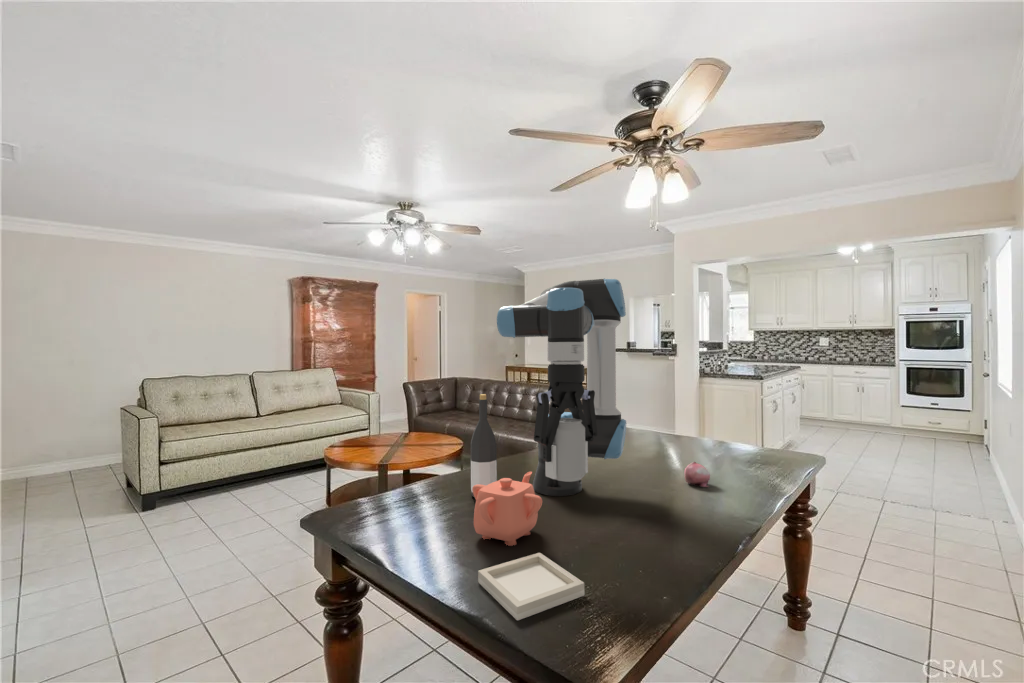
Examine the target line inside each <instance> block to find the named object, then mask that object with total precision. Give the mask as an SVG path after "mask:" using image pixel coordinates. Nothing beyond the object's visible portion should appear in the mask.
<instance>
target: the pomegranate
mask: <svg viewBox="0 0 1024 683" xmlns="http://www.w3.org/2000/svg"><path fill="white" fill-rule="evenodd" d="M684 479H685V482H686V483H687V484H688V485H692V486H695V487H699V488H710V485H708V483H709V481H710V479H711V473H710V471H709V469H707V467H705V465H702V464H700V463H697V462H695V461H693V462H691V463H689V464H687V466H686V467H685V468H684Z"/></svg>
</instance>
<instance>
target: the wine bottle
mask: <svg viewBox="0 0 1024 683" xmlns="http://www.w3.org/2000/svg"><path fill="white" fill-rule="evenodd" d="M478 403H479V404H478V405H479V406H478V410H479V411H478V416H479V418H478V419H479V420H478V421H477V424H476V425H475V428H474V430H473V433H472V435H471V440H470V490H471V491H470V492H471V493H470V494H471V497H472V496H473V497H474V494H473V491H472V488H473V486H474V485H477V484H481V485H488V484H490V483H493V482H495V481H498V472H497V468H498V467H497V466H498V465H497V457H498V454H497V440H496V437H495V434H494V432H493V431H494V430H493V429H492V427H491V425H490V423H489V421H488V399H487V394H486V393H481V394H479V399H478Z"/></svg>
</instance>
